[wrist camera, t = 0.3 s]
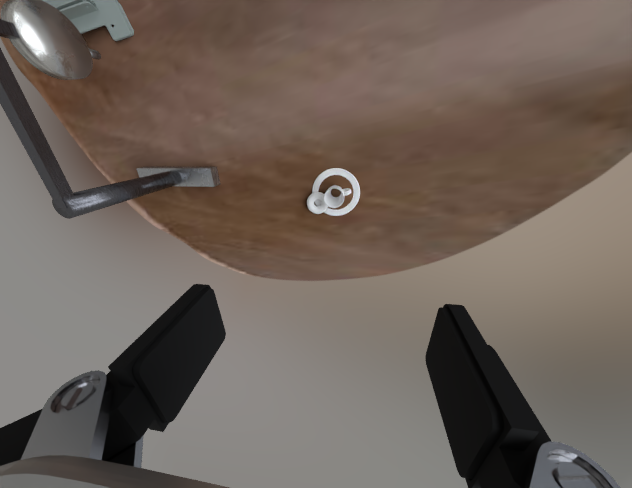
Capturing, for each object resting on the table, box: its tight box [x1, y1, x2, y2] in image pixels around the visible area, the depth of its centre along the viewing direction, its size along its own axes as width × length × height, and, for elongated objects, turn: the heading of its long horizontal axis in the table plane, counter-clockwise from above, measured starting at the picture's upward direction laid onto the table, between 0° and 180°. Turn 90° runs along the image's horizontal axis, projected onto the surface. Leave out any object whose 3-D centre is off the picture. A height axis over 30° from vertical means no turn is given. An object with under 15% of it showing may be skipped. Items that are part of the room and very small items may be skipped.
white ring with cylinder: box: [307, 168, 360, 216], centre depth 37 cm, size 9×8×4 cm
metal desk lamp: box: [0, 0, 220, 218], centre depth 29 cm, size 20×14×19 cm
